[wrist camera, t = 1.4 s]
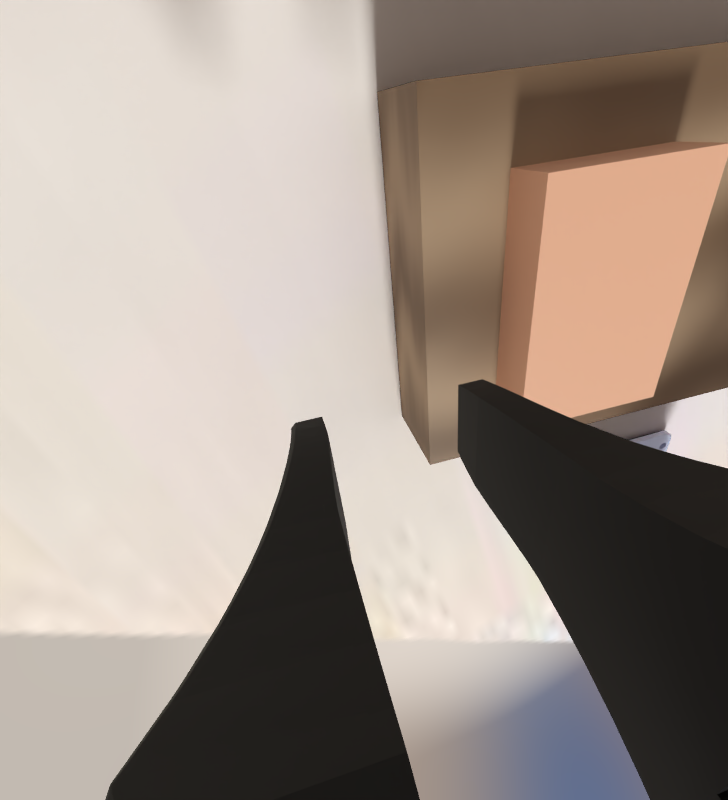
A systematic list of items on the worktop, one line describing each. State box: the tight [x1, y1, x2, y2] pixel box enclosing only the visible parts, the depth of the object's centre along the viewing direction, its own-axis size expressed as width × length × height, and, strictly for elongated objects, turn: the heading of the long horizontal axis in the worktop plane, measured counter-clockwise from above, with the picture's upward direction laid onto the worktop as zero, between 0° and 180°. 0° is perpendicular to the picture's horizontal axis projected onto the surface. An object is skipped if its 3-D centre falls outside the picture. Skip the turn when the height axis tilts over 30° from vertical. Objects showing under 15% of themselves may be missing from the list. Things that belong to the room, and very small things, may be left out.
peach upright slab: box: [496, 142, 728, 418], centre depth 16 cm, size 9×6×2 cm, turn 6°
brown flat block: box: [377, 42, 728, 465], centre depth 18 cm, size 14×16×4 cm
